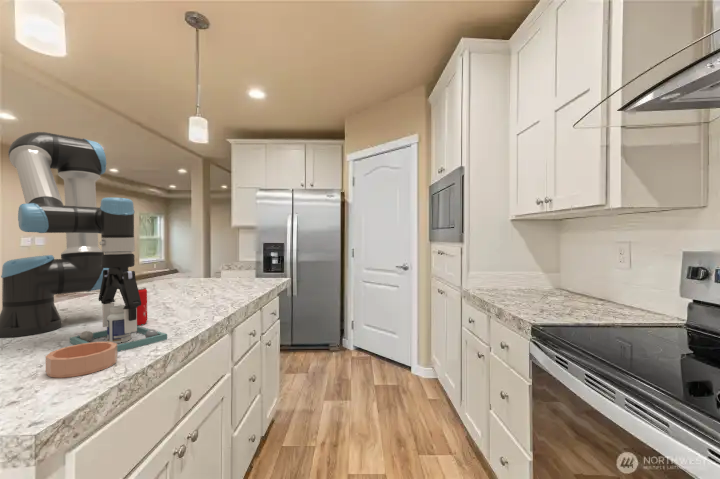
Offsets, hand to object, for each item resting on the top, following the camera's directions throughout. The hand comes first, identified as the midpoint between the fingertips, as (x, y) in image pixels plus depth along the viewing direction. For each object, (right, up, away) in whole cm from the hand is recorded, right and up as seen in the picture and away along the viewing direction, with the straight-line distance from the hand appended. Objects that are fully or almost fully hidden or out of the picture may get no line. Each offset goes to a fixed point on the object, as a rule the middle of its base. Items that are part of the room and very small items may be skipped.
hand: (119, 329), depth 94 cm
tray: (0, -3, 0) cm, 3 cm away
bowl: (+5, -3, -19) cm, 20 cm away
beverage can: (-7, -4, +19) cm, 21 cm away
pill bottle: (0, -4, 0) cm, 4 cm away
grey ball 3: (+9, -3, +1) cm, 9 cm away
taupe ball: (-9, -4, 0) cm, 10 cm away
